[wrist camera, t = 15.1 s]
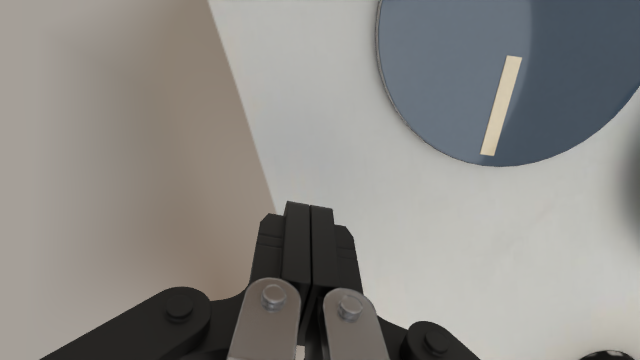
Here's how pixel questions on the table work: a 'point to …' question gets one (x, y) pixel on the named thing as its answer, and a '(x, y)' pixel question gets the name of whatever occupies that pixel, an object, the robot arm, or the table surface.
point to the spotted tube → (608, 356)
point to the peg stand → (508, 72)
